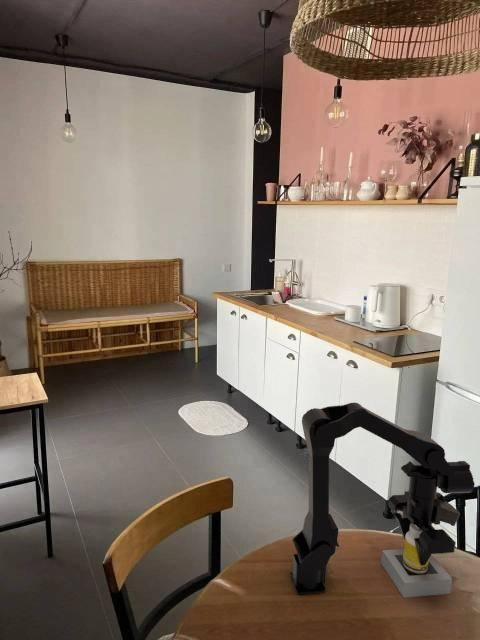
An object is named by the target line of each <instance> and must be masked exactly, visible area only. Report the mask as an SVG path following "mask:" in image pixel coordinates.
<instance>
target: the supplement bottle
mask: <svg viewBox="0 0 480 640" xmlns="http://www.w3.org/2000/svg"><path fill="white" fill-rule="evenodd" d="M422 532H423V531H422V530H421V529H418V528H417V527H416V526H415V525H413V524H412V523H411V524H410V530H409V531H408V532H407V533H406V536H405V541H404V545H403V549H404V554H403V565H404V566H405V568H404V569H406V570H408V571H409V572H411V573H415V574H425V572H426V571H427V569H428V562H429V559H428V561H427V563H426V565H420V562H419V559H418V554H417V550H416V545H415V541H414V538H419V535H420V534H421V533H422Z"/></svg>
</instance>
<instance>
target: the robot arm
mask: <svg viewBox="0 0 480 640" xmlns="http://www.w3.org/2000/svg"><path fill="white" fill-rule="evenodd" d="M301 424H302V426H301V427H302V430H303V436H304V439H305V442H306V446H307V450H308V512H307V513H306V516H305V517H304V523H303V528H302V530H300V532H298V533H297V534H296V535H295V536H294V537H293V538H292V539H291V540H292V542H293V546H294V548H295V552H296V553H294V554H293V558H292V571H291V572H290V573H289V576H290V578H291V581H292V585H293V586H294V590H295V592H296V594H297V595H309V594H319V593H320V594H321V593H326V592H327V591H326V590H327V589H326V586H325V585H324V584H326V578H327V566H328V562H329V561H330V558H331V557H333V556H334V555H335V553H336V549H337V548H338V547H340V546H339V542H338V537H339V528H338V526H337V524H336V522H335V520H334V517H333V516H332V514H331V513H330V455H331V454H332V451H333V449H334V447H335V443H336V442H335V441H336V439H339V438H341V437H344V436H346V435H348V434H349V433H350V432H352V431H354V429H357V428H361V429H363V430H365V431H368V432H369V433H371V434H373V435H375V436H377V437H378V438H381V439H382V440H384V441H387V442H388V443H390V444H392V445H393V446H396V447H398V448H400V449H401V450H403V451H404V452H405V453H406V454H407V455H409V456H410V457H411V458H412V459H414V461H416V462H417V463H419V464H414V463H413V462H412V461H408V462H407V463H405V464H403V465H402V466H401V467H400V470H401V471H403V473H404V474H405V475H406V476H407V477H409V481H408V491H406V490H405V491H404V494H391V496H390V497H389V498H388V504H387V505H388V507H389V509H390V510H391V511H392V512H394V513H393V516H394V517H395V519H396V522H397V525H398V528H399V529H400V532H401V535H402V538H403V540H404V542H405V536H406V533H407V532H408V531H409V530H410V524H411V523H412V524H413V525H415V526H416V527H417V528H418V529H421V530H422V531H423V532H422V533H421V534H420V535H419V538H414V541H415V545H416V550H417V554H418V559H419V562H420V565H426V563H427V561H428V559H429V558H430V556H431V554H432V555H436V554H438V555H439V554H450V553H452V554H453V553H455V551H456V545H457V544H456V541H455V540H454V539H453V538H452V537H451V536H450V535H449V534H448V533H447V532H446V530H444V529H443V528H441V529H435V527H434V526H435V525H441V522H442V523H445V524H448V525H450V526H452V527H455V526H456V523H457V522H458V520H459V518H460V515H461V512H460V511H459V510H457V508H455V507H454V506H453V505H452V504H451V503H449V502H448V501H447V500H446V498H445V495H443V494H442V493H444V494H469V493H472V492H473V491H474V488H475V481H474V476H473V473H472V471H471V465H470V464H469V463H468V462H467V461H465V460H458V461H447V459H446V457H445V456H446V453H445V449H444V447H442V446H441V445H440V444H439V443H438V442H436V441H435V440H434V439H433V438H431V437H430V436H429V435H428V434H425V433H423V432H420V431H417V430H411V429H406V428H403V427H401V426H400V425H397V424H395V423H394V422H391V421H390V420H388V419H386V418H385V417H382V416H380V415H379V414H377V413H375V412H373V411H371V410H370V409H367V408H366V407H363V406H362V405H361V404H360V403H358V402H349V403H346V404H341V405H331V406H325V407H322V408H311V409H309V410H307V411H306V412H305V413H303V415H302V418H301ZM437 488H438V489H440V491H441V492H442V493H440V492H438V490H437ZM433 524H434V526H433Z"/></svg>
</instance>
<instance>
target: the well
mask: <svg viewBox="0 0 480 640" xmlns="http://www.w3.org/2000/svg"><path fill="white" fill-rule="evenodd" d="M403 554H404V548H397V549H394V548H393V549H383V550H382V551H381V560H380V561H381V563H380V564H381V566H382V567H383V569H384V570H385V572H386V574H387V575H388V576H389V577H390V579H391V581H392V582H393V584H394V585H395V586H396V589H397V590H398V591H399V593H400V595H401V596H402V598H404V599H406V598H414V597H415V598H416V597H427V596H438V595H439V596H440V595H450V594H451V592H452V585H453V579H452V577H451V576H450V575H449V573H448V572H447V571H446V570H445V569H444V567H443V566H442V565H441V563H440V562H439V561H438V560H437V559H436V558H435V557H434V555H433V554H431V556H430V558H429V562H428V569H427V571H426V572H424V574H417V575H409V574H408V572H407V571H406V570H405V569H406V568H405V566H404V565H403Z"/></svg>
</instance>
